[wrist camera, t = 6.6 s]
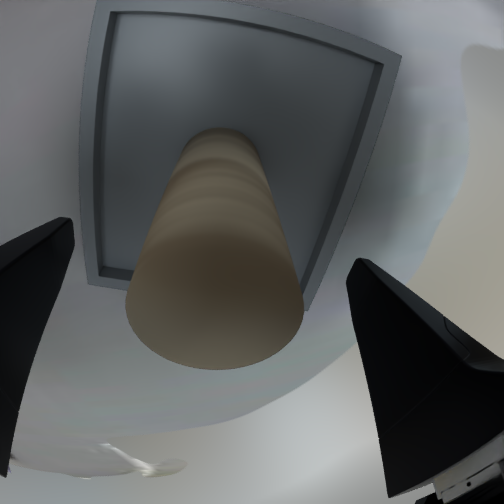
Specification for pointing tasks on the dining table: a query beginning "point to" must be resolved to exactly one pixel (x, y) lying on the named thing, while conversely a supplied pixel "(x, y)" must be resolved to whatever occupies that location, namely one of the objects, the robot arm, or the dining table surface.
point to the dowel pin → (216, 262)
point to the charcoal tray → (224, 119)
